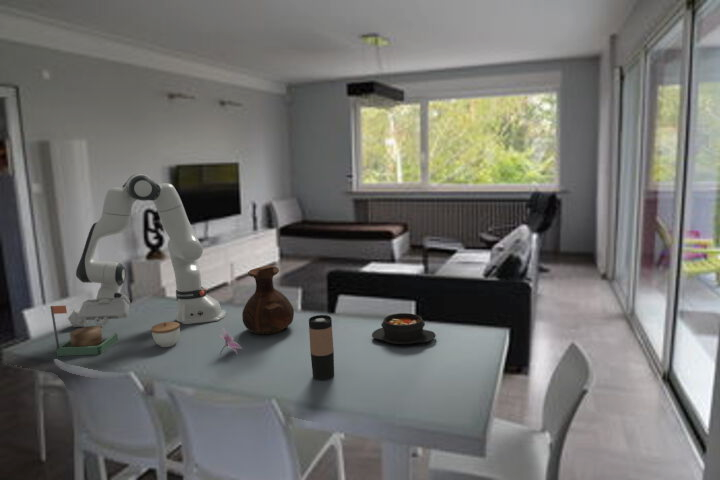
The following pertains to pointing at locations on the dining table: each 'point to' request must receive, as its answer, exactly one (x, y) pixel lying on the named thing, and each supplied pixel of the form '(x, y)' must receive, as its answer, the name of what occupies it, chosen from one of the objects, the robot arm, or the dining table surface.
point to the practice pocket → (86, 350)
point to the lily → (230, 342)
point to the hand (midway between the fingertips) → (99, 328)
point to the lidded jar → (166, 333)
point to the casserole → (403, 329)
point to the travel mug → (321, 347)
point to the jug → (266, 304)
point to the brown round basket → (86, 336)
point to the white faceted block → (77, 319)
